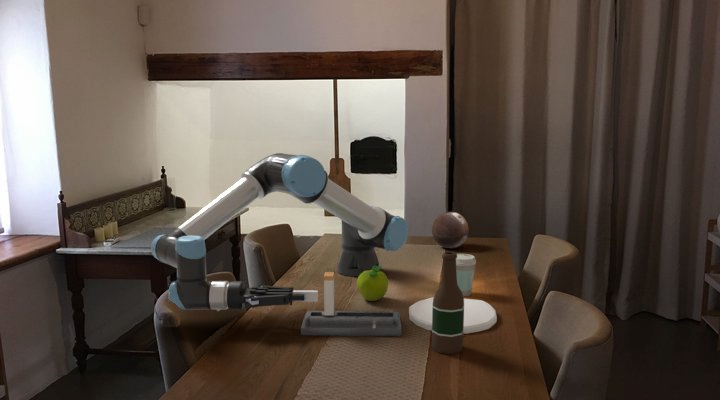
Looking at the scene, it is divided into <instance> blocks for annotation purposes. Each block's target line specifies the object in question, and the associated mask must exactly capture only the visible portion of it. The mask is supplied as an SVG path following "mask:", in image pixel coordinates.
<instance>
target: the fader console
mask: <svg viewBox="0 0 720 400" xmlns="http://www.w3.org/2000/svg"><path fill="white" fill-rule="evenodd" d="M322 311H323V310H307V311H306V312H305V314H304V317H303V320H302V323H301V327H300V336H342V337H344V336H346V337H347V336H350V337H351V336H355V337H358V336H362V337H363V336H364V337H367V336H369V337H370V336H371V337H402V331H403V330H402V322H401V313H400V312H398V311H391V310H390V311H387V310H385V311H383V310H382V311H381V310H375V311H374V310H370V311H369V310H336V311H337V316H322Z"/></svg>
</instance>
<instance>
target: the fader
mask: <svg viewBox="0 0 720 400" xmlns="http://www.w3.org/2000/svg"><path fill="white" fill-rule="evenodd" d="M323 302H324V303H323V308H324V309H323V310H321V311H322V316H337V311H338V310H335V272H334V271H325V272H324V275H323Z"/></svg>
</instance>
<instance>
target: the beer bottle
mask: <svg viewBox="0 0 720 400" xmlns="http://www.w3.org/2000/svg"><path fill="white" fill-rule="evenodd" d="M457 254H458V253H456V252H453V251H444V252H443V253H442V255H441V259H442V264H441V265H442V266H441V278H440V285H439V286H438V288H437V290H436V291H435V292H434V296H433V297H434V298H433V309H432V330H431V347H432V350H434V351H436V352H437V353H439V354H446V355H454V354H458V353H461V351H462V349H463V345H464V334H463V330H464V299H465V296H463V294H462V291H461V290H460V288H459V287H458V284H457V273H456V258H457Z"/></svg>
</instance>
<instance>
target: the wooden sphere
mask: <svg viewBox="0 0 720 400" xmlns="http://www.w3.org/2000/svg"><path fill="white" fill-rule="evenodd" d="M469 228H470V227H469V223H468V221H467V220H466V218H465V217H464V216H463V215H461V214H460V213H458V212H454V211H446V212H443V213H441V214H439V215H438V216H436V218H435V219H434V221H433V223H432V227H431V234H432V237H433V239H434V240H435V243H437V244H438V245H439V246H441V247H443V248H446V249H457V248H458V247H461V246H462V245H463V244H464V243H465V242H466V241H467V239H468V237H469V233H470V229H469Z"/></svg>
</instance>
